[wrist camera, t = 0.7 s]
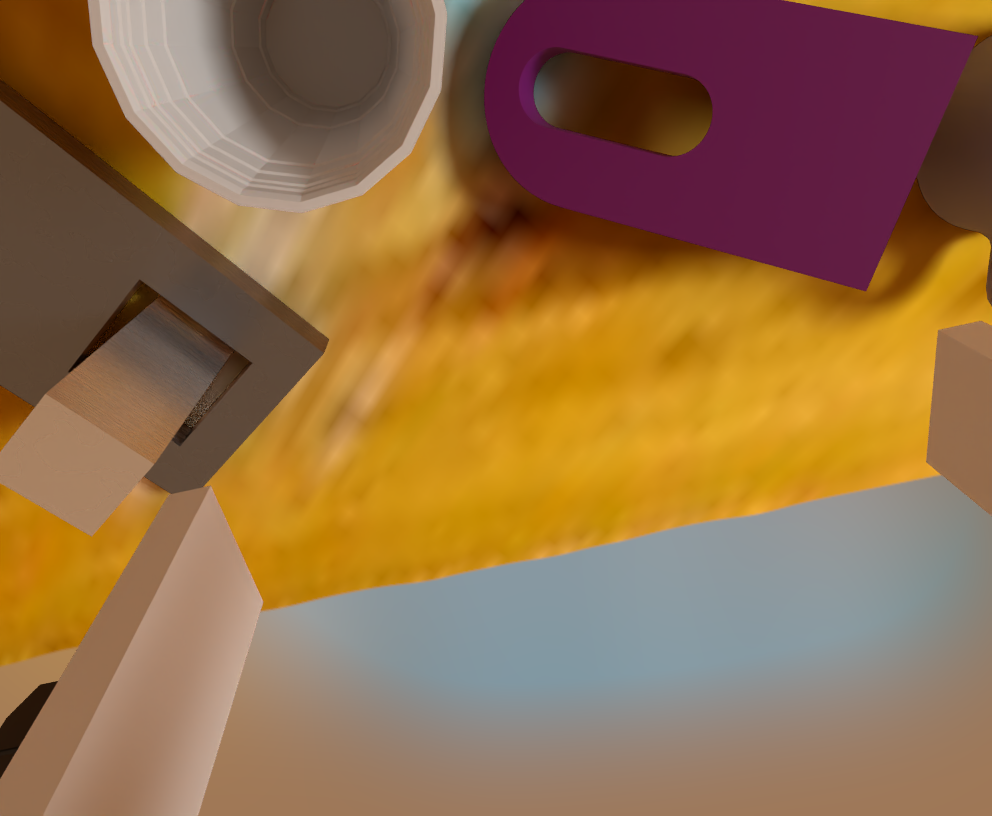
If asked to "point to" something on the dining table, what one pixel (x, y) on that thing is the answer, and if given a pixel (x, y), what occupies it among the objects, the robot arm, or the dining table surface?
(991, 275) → the coffee mug
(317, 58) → the plastic cup
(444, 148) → the dining table surface
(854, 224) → the mounting bracket
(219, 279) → the grey peg board
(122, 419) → the peg
